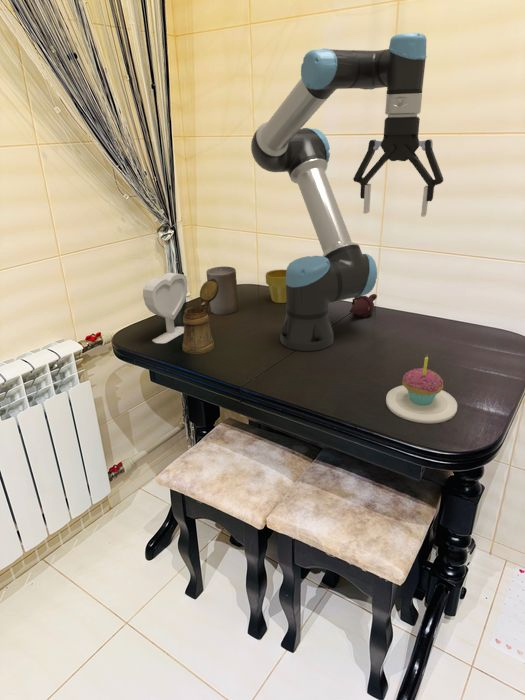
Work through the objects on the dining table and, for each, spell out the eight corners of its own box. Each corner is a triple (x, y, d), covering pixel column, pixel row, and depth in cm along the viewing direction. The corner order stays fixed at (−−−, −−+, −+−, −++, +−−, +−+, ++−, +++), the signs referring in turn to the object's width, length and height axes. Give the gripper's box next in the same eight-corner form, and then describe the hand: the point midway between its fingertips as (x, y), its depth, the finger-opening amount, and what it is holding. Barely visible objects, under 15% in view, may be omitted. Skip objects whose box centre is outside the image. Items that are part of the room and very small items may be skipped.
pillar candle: (241, 305, 173) (239, 262, 167) (233, 315, 164) (230, 270, 158) (214, 304, 175) (211, 262, 169) (205, 314, 167) (201, 270, 160)
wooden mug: (230, 339, 147) (227, 280, 139) (200, 357, 137) (194, 294, 129) (207, 333, 152) (202, 275, 144) (175, 350, 142) (169, 288, 134)
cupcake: (442, 411, 107) (450, 361, 102) (401, 408, 108) (406, 358, 103) (438, 391, 114) (445, 343, 109) (399, 389, 116) (404, 341, 111)
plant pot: (267, 295, 182) (267, 268, 178) (296, 295, 181) (296, 268, 177) (265, 305, 173) (264, 277, 169) (295, 305, 172) (295, 277, 168)
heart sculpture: (160, 345, 144) (153, 285, 137) (147, 342, 147) (139, 283, 139) (193, 327, 157) (188, 270, 149) (180, 324, 159) (174, 268, 151)
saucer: (378, 414, 109) (378, 409, 108) (394, 383, 121) (394, 378, 120) (451, 430, 103) (452, 425, 102) (460, 395, 115) (461, 391, 114)
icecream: (364, 306, 151) (387, 297, 162) (343, 295, 155) (367, 287, 165) (356, 326, 155) (379, 315, 165) (337, 315, 158) (361, 306, 169)
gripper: (342, 117, 114) (339, 213, 123) (460, 114, 103) (446, 219, 112) (352, 117, 120) (348, 208, 129) (464, 114, 110) (451, 214, 119)
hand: (394, 214), depth 121 cm, fingers open, 13 cm apart
